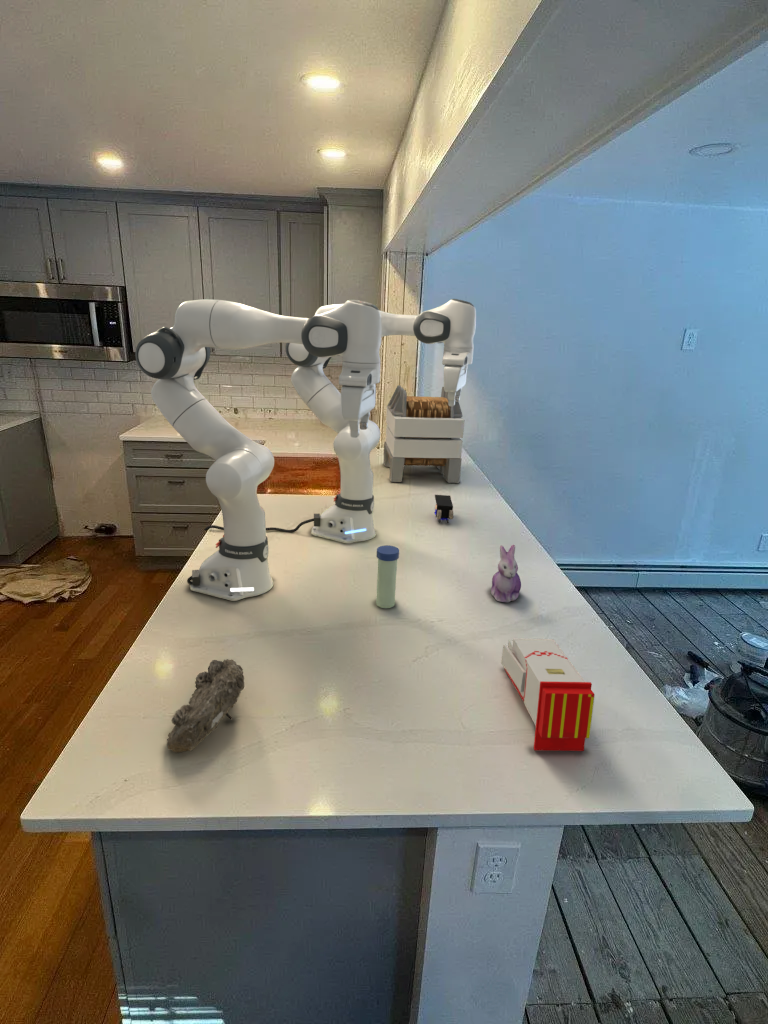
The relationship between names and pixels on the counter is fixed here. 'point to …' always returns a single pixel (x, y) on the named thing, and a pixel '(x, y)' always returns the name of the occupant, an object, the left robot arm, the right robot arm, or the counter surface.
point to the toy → (550, 693)
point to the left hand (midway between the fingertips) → (359, 432)
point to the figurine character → (443, 508)
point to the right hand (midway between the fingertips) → (454, 403)
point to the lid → (387, 553)
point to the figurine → (506, 577)
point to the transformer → (423, 434)
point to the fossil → (206, 705)
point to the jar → (386, 583)
